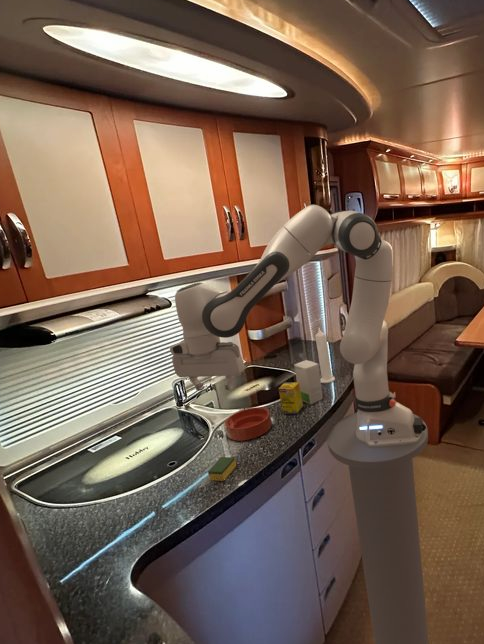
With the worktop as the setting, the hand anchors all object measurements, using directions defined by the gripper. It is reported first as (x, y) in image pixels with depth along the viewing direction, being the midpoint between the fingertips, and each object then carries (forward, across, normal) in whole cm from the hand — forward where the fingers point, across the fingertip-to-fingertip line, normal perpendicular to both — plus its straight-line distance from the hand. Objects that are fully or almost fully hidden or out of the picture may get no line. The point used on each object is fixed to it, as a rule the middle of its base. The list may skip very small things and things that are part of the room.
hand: (214, 389), depth 106 cm
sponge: (+25, +1, +4) cm, 25 cm away
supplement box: (+25, -6, -34) cm, 43 cm away
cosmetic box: (+25, -10, -44) cm, 52 cm away
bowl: (+25, +5, -20) cm, 32 cm away
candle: (+25, -11, -63) cm, 69 cm away
